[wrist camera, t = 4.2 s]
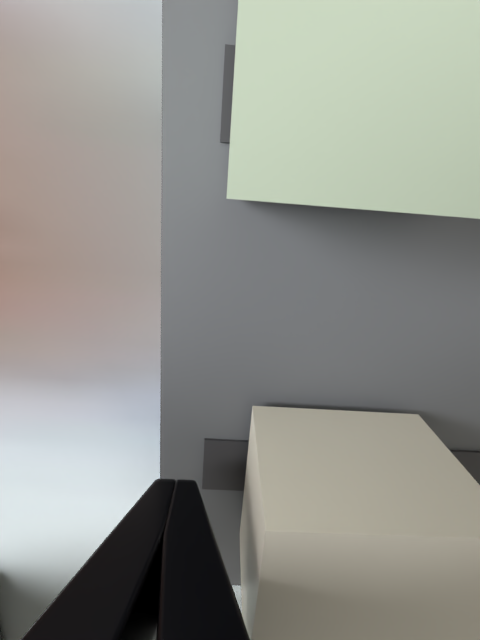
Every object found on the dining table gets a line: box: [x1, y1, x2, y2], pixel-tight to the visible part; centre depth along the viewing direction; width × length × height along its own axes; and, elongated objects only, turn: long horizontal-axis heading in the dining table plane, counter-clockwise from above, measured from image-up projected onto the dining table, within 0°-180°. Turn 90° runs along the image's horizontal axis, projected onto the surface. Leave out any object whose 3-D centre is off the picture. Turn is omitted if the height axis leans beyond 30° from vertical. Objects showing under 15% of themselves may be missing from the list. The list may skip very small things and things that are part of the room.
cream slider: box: [240, 406, 480, 640], centre depth 7 cm, size 4×4×3 cm
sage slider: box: [226, 0, 480, 219], centre depth 4 cm, size 3×4×3 cm
